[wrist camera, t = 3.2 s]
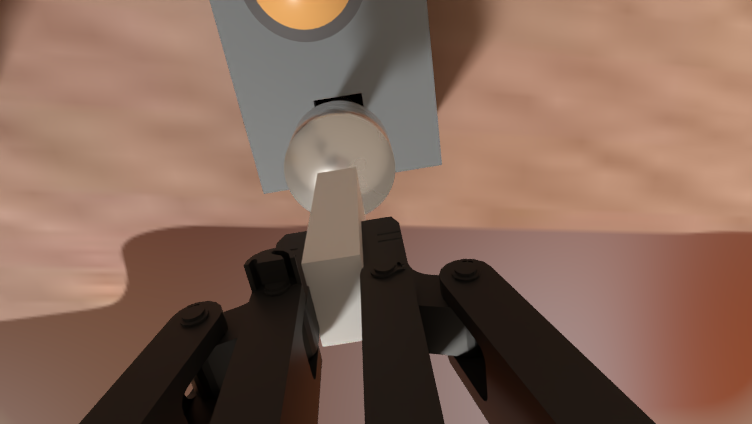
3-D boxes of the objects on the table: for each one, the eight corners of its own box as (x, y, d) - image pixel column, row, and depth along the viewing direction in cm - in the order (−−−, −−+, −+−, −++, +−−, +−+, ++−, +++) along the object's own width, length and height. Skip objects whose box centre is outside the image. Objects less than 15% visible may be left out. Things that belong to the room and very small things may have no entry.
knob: (297, 80, 30) (271, 125, 20) (373, 67, 30) (387, 106, 20) (313, 152, 32) (297, 228, 22) (383, 140, 32) (401, 210, 22)
